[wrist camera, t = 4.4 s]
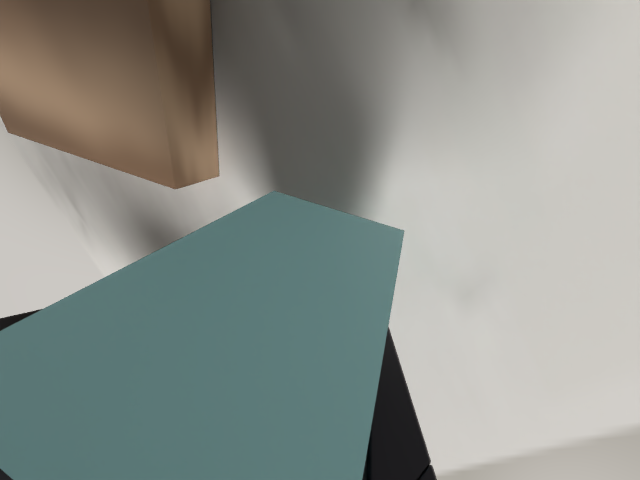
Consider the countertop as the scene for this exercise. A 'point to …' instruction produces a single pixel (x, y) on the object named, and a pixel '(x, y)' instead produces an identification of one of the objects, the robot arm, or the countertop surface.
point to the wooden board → (114, 83)
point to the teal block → (210, 356)
